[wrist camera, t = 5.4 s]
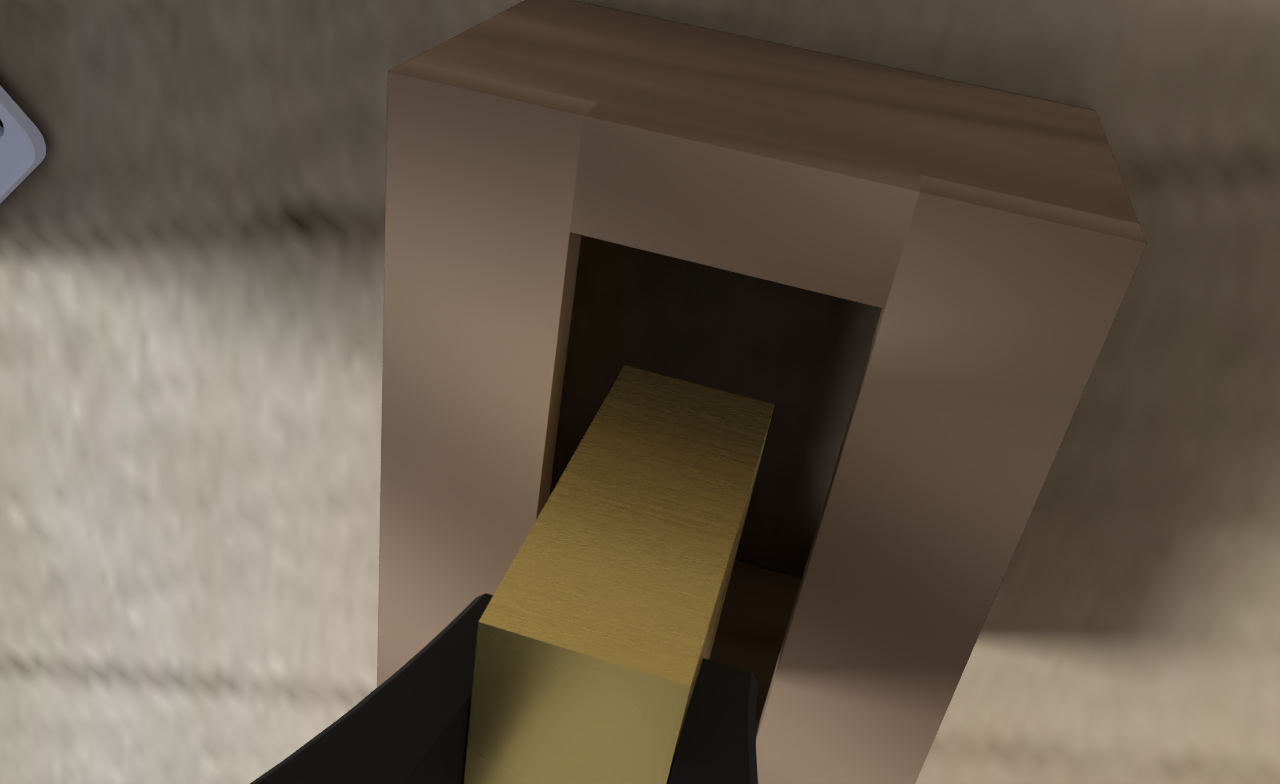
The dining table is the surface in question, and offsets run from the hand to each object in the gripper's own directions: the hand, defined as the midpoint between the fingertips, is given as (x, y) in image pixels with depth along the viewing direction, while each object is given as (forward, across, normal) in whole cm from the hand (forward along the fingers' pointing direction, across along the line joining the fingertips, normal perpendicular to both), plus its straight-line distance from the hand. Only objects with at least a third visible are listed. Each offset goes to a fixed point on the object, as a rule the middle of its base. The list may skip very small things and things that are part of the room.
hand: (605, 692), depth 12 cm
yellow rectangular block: (+3, 0, 0) cm, 3 cm away
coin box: (+9, 0, 0) cm, 9 cm away
